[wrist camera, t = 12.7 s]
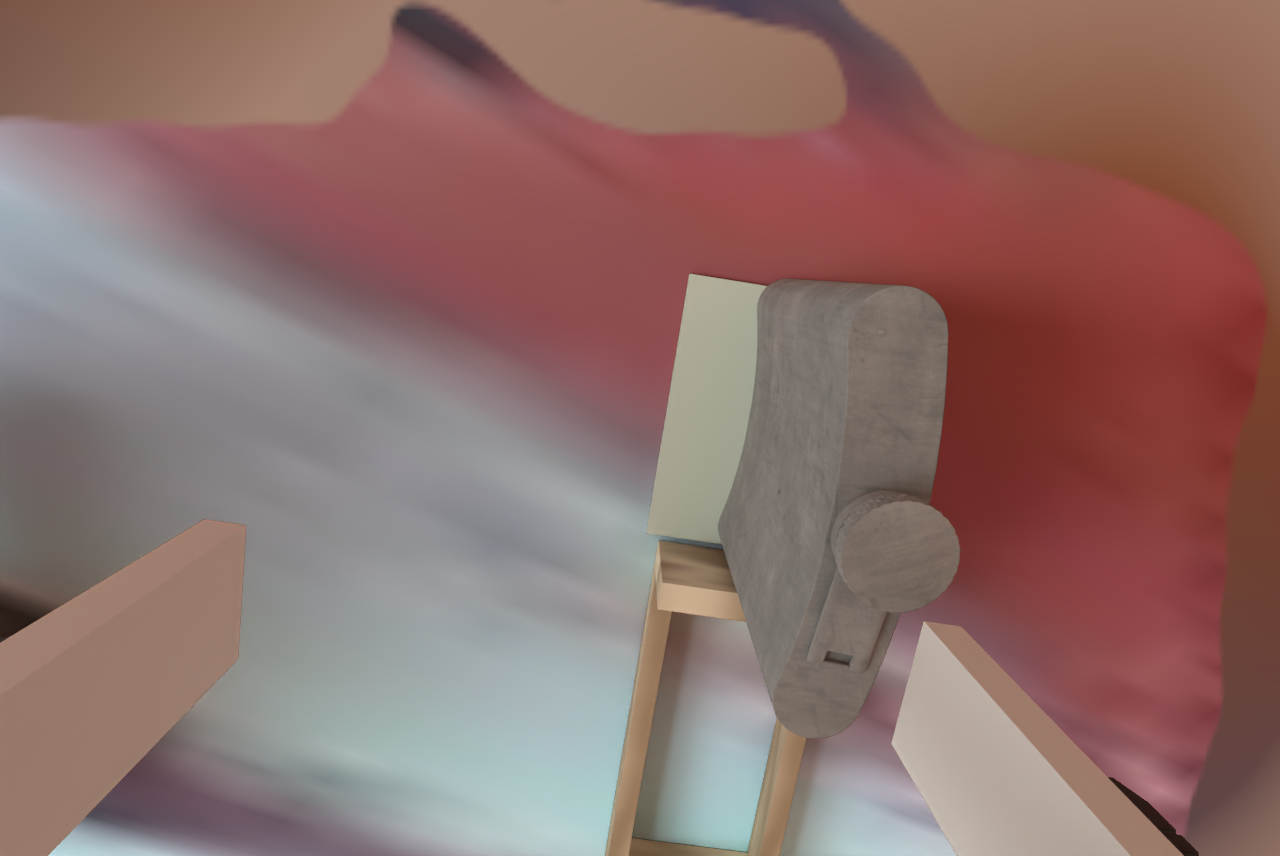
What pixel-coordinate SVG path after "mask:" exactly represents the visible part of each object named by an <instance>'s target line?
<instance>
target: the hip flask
mask: <svg viewBox="0 0 1280 856" xmlns="http://www.w3.org/2000/svg"><path fill="white" fill-rule="evenodd" d="M947 363H948V323H947V320H946V316H945V313H944V311H943V310H942V308H941V306H940V305H939V303H938V302H937V301H936V300H935V299H934V298H933V297H932V296H931V295H929V294H928V293H927V292H925V291H922V290H920V289H918V288H915V287H910V286H901V285H885V284H869V283H853V282H836V281H820V280H804V279H780V280H777V281H775V282H773V283H771V284H770V285H768V286H767V287H766V288H765V289H764V291H763V292H762V293H761V295H760V297H759V300H758V304H757V360H756V372H755V383H754V390H753V397H752V404H751V410H750V415H749V421H748V426H747V431H746V437H745V441H744V445H743V450H742V454H741V458H740V461H739V465H738V469H737V472H736V475H735V479H734V482H733V485H732V488H731V491H730V493H729V496H728V499H727V502H726V504H725V507H724V509H723V511H722V514H721V516H720V519H719V522H718V534H719V537H720V540H721V543H722V546H723V550H724V553H725V556H726V559H727V562H728V565H729V569H730V572H731V575H732V578H733V581H734V584H735V588H736V591H737V594H738V597H739V600H740V603H741V607H742V610H743V613H744V616H745V619H746V622H747V626H748V629H749V632H750V635H751V638H752V641H753V645H754V648H755V651H756V654H757V657H758V660H759V664H760V667H761V670H762V673H763V676H764V679H765V683H766V686H767V689H768V692H769V695H770V698H771V702H772V705H773V708H774V711H775V714H776V716H777V718H778V720H779V721H780V723H781V724H782V725H783V726H784V727H785V728H786V729H788V730H789V731H790V732H792V733H794V734H796V735H798V736H801V737H805V738H814V739H818V738H826V737H830V736H833V735H835V734H837V733H840V732H842V731H843V730H844V729H846V728H847V727H848V726H850V724H851V723H852V722H853V721H854V720H855V719H856V717H857V716H858V714H859V712H860V710H861V708H862V706H863V704H864V702H865V700H866V698H867V695H868V693H869V691H870V689H871V687H872V685H873V683H874V680H875V678H876V676H877V673H878V671H879V669H880V666H881V664H882V662H883V659H884V657H885V654H886V652H887V649H888V646H889V644H890V641H891V638H892V636H893V633H894V630H895V628H896V625H897V622H898V619H899V616H900V613H901V612H907V611H910V610H917V609H918V608H920V607H922V606H926V605H928V604H929V603H930V602H931V601H933V600H935V599H937V598H938V597H939V595H940V594H941V593H943V592H945V591H946V589H947V587H948V585H949V584H950V583H951V582H952V581H953V577H954V575H955V574H956V572H957V568H958V564H959V562H960V557H959V553H960V546H959V538H958V537H957V535H956V533H955V528H954V527H953V526H952V525H951V524H950V522H949V520H948V519H947V518H945V517H944V516H943V515H942V513H941V512H940V511H937V510H936V509H935V507H933V506H931V505H929V504H930V499H931V494H932V489H933V484H934V479H935V474H936V467H937V461H938V454H939V447H940V441H941V433H942V424H943V416H944V407H945V395H946V380H947Z"/></svg>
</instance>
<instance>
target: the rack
mask: <svg viewBox="0 0 1280 856" xmlns="http://www.w3.org/2000/svg"><path fill="white" fill-rule="evenodd" d="M672 611H673V612H680V613H687V614H694V615H701V616H708V617H715V618H723V619H730V620H737V621H744V622H746V619H745V616H744V613H743V610H742V607H741V603H740V600H739V597H738V594H737V591H736V588H735V584H734V581H733V578H732V575H731V572H730V569H729V565H728V562H727V559H726V556H725V553H724V550H723V549H716V548H709V547H702V546H695V545H688V544H681V543H674V542H668V541H661V540H659V541H658V547H657V553H656V558H655V564H654V570H653V576H652V582H651V588H650V594H649V599H648V605H647V611H646V617H645V623H644V629H643V635H642V640H641V646H640V652H639V658H638V664H637V670H636V676H635V681H634V687H633V693H632V699H631V705H630V711H629V717H628V723H627V728H626V734H625V740H624V746H623V752H622V758H621V764H620V769H619V775H618V781H617V787H616V793H615V799H614V805H613V810H612V816H611V822H610V828H609V834H608V840H607V846H606V851H605V856H779V855H780V851H781V847H782V842H783V838H784V833H785V829H786V825H787V820H788V816H789V812H790V807H791V803H792V799H793V794H794V790H795V785H796V781H797V777H798V772H799V768H800V764H801V759H802V755H803V751H804V746H805V742H806V738H805V737H801V736H798V735H796V734H794V733H792V732H790V731H789V730H788V729H786V728H785V727H784V726H783V725H782V724H781V723H780V721H779V720H778V718H777V719H776V724H775V729H774V733H773V738H772V742H771V747H770V751H769V756H768V761H767V765H766V770H765V774H764V779H763V783H762V788H761V793H760V797H759V802H758V806H757V811H756V816H755V820H754V825H753V829H752V834H751V838H750V843H749V848H748V852H747V853H746V852H738V851H730V850H722V849H715V848H707V847H699V846H691V845H683V844H676V843H668V842H660V841H652V840H645V839H637V838H632V832H633V827H634V821H635V815H636V810H637V804H638V799H639V793H640V787H641V782H642V776H643V771H644V765H645V759H646V754H647V748H648V743H649V737H650V731H651V726H652V720H653V715H654V709H655V703H656V698H657V692H658V687H659V681H660V675H661V670H662V664H663V659H664V653H665V647H666V642H667V636H668V631H669V625H670V619H671V614H672Z"/></svg>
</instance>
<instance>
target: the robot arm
mask: <svg viewBox="0 0 1280 856" xmlns="http://www.w3.org/2000/svg"><path fill="white" fill-rule="evenodd" d="M245 539H246V525H241V524H234V523H227V522H220V521H213V520H206V519H204V520H202V521H200V522H199V523H197V524H195V525H194V526H192V527H190V528H189V529H187V530H185V531H184V532H182V533H180V534H179V535H177V536H175V537H174V538H172V539H171V540H169V541H167V542H166V543H164V544H162V545H161V546H159V547H157V548H156V549H154V550H152V551H151V552H149V553H147V554H146V555H144V556H142V557H141V558H139V559H138V560H136V561H134V562H133V563H131V564H129V565H128V566H126V567H124V568H123V569H121V570H119V571H118V572H116V573H114V574H113V575H111V576H109V577H108V578H106V579H105V580H103V581H101V582H100V583H98V584H96V585H95V586H93V587H91V588H90V589H88V590H86V591H85V592H83V593H81V594H80V595H78V596H76V597H75V598H73V599H72V600H70V601H68V602H67V603H65V604H63V605H62V606H60V607H58V608H57V609H55V610H53V611H52V612H50V613H48V614H47V615H45V616H43V617H42V618H40V619H39V620H37V621H35V622H34V623H32V624H30V625H29V626H27V627H25V628H24V629H22V630H20V631H19V632H17V633H15V634H14V635H12V636H10V637H9V638H6V637H0V856H48V855H49V854H50V853H51V852H52V851H53V850H54V849H55V848H56V847H57V846H58V845H59V844H60V843H61V842H62V840H63V839H64V838H65V837H66V836H67V835H68V834H69V833H70V832H71V831H72V830H73V829H74V828H75V827H76V826H77V825H78V824H79V823H80V822H81V821H82V820H83V819H84V818H85V817H86V816H87V815H88V814H89V813H90V812H91V811H92V810H93V808H94V807H95V806H96V805H97V804H98V803H99V802H100V801H101V800H102V799H103V798H104V797H105V796H106V795H107V794H108V793H109V792H110V791H111V790H112V789H113V788H114V787H115V786H116V785H117V784H118V783H119V782H120V781H121V780H122V779H123V777H124V776H125V775H126V774H127V773H128V772H129V771H130V770H131V769H132V768H133V767H134V766H135V765H136V764H137V763H138V762H139V761H140V760H141V759H142V758H143V757H144V756H145V755H146V754H147V753H148V752H149V751H150V750H151V749H152V748H153V747H154V745H155V744H156V743H157V742H158V741H159V740H160V739H161V738H162V737H163V736H164V735H165V734H166V733H167V732H168V731H169V730H170V729H171V728H172V727H173V726H174V725H175V724H176V723H177V722H178V721H179V720H180V719H181V718H182V717H183V716H184V715H185V713H186V712H187V711H188V710H189V709H190V708H191V707H192V706H193V705H194V704H195V703H196V702H197V701H198V700H199V699H200V698H201V697H202V696H203V695H204V694H205V693H206V692H207V691H208V690H209V689H210V688H211V687H212V686H213V685H214V684H215V683H216V681H217V680H218V679H219V678H220V677H221V676H222V675H223V674H224V673H225V672H226V671H227V670H228V669H229V668H230V667H231V666H232V665H233V664H234V663H235V662H236V661H237V660H238V656H239V639H240V622H241V605H242V589H243V572H244V555H245ZM891 744H892V746H893V747H894V749H895V751H896V752H897V754H898V756H899V758H900V759H901V761H902V763H903V764H904V766H905V768H906V770H907V771H908V773H909V775H910V776H911V778H912V780H913V782H914V783H915V785H916V787H917V788H918V790H919V792H920V793H921V795H922V797H923V799H924V800H925V802H926V804H927V805H928V807H929V809H930V811H931V812H932V814H933V816H934V817H935V819H936V821H937V823H938V824H939V826H940V828H941V829H942V831H943V833H944V834H945V836H946V838H947V840H948V841H949V843H950V845H951V846H952V848H953V850H954V852H955V853H956V855H957V856H1199V855H1198V852H1197V851H1196V850H1195V849H1194V848H1193V847H1192V846H1191V845H1190V844H1189V843H1188V842H1187V841H1186V840H1185V839H1184V838H1183V837H1182V836H1181V835H1177V834H1176V830H1175V829H1174V828H1173V827H1172V826H1171V825H1170V824H1169V823H1168V822H1167V821H1166V820H1165V819H1164V818H1163V817H1162V816H1161V815H1160V814H1159V813H1158V812H1157V811H1156V810H1155V809H1154V808H1153V807H1152V806H1151V805H1150V804H1149V803H1148V802H1147V801H1145V800H1144V799H1142V798H1141V797H1140V796H1138V795H1137V794H1135V793H1134V792H1132V791H1131V790H1130V789H1128V788H1127V787H1125V786H1124V785H1122V784H1121V783H1120V782H1118V781H1117V780H1115V779H1114V778H1110V777H1107V776H1106V775H1105V774H1104V773H1103V772H1102V771H1101V770H1100V769H1099V768H1098V767H1097V766H1096V765H1095V764H1094V763H1093V762H1092V761H1091V760H1090V759H1089V758H1088V757H1087V756H1086V755H1085V754H1084V753H1083V752H1082V750H1081V749H1080V748H1079V747H1078V746H1077V745H1076V744H1075V743H1074V742H1073V741H1072V740H1071V739H1070V738H1069V737H1068V736H1067V735H1066V734H1065V733H1064V732H1063V731H1062V730H1061V729H1060V728H1059V727H1058V726H1057V725H1056V724H1055V723H1054V722H1053V721H1052V720H1051V719H1050V718H1049V717H1048V716H1047V715H1046V713H1045V712H1044V711H1043V710H1042V709H1041V708H1040V707H1039V706H1038V705H1037V704H1036V703H1035V702H1034V701H1033V700H1032V699H1031V698H1030V697H1029V696H1028V695H1027V694H1026V693H1025V692H1024V691H1023V690H1022V689H1021V688H1020V687H1019V686H1018V685H1017V684H1016V683H1015V682H1014V681H1013V680H1012V679H1011V677H1010V676H1009V675H1008V674H1007V673H1006V672H1005V671H1004V670H1003V669H1002V668H1001V667H1000V666H999V665H998V664H997V663H996V662H995V661H994V660H993V659H992V658H991V657H990V656H989V655H988V654H987V653H986V652H985V651H984V650H983V649H982V648H981V647H980V646H979V645H978V644H977V643H976V642H975V640H974V639H973V638H972V637H971V636H970V635H969V634H968V633H967V632H966V631H965V630H964V629H963V628H962V627H961V626H954V625H947V624H940V623H933V622H926V621H924V623H923V626H922V630H921V634H920V638H919V641H918V645H917V649H916V653H915V657H914V660H913V664H912V668H911V672H910V675H909V679H908V683H907V687H906V690H905V694H904V698H903V702H902V705H901V709H900V713H899V717H898V721H897V724H896V728H895V732H894V736H893V739H892V743H891Z"/></svg>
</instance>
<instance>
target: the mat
mask: <svg viewBox="0 0 1280 856" xmlns="http://www.w3.org/2000/svg"><path fill="white" fill-rule="evenodd" d="M766 287H767V286H764V285H758V284H752V283H745V282H739V281H733V280H727V279H720V278H714V277H708V276H702V275H695V274H689V278H688V284H687V290H686V296H685V302H684V308H683V314H682V320H681V326H680V332H679V338H678V344H677V350H676V356H675V363H674V369H673V375H672V381H671V387H670V393H669V399H668V405H667V411H666V417H665V423H664V429H663V435H662V441H661V447H660V453H659V459H658V465H657V471H656V477H655V483H654V489H653V495H652V501H651V507H650V513H649V519H648V525H647V533H648V534H655V535H662V536H669V537H675V538H682V539H689V540H696V541H703V542H710V543H717V544H722V543H721V540H720V537H719V534H718V522H719V519H720V516H721V514H722V511H723V509H724V507H725V504H726V502H727V499H728V496H729V493H730V491H731V488H732V485H733V482H734V479H735V475H736V472H737V469H738V465H739V461H740V458H741V454H742V450H743V445H744V441H745V437H746V431H747V426H748V421H749V415H750V410H751V404H752V397H753V390H754V383H755V372H756V360H757V304H758V300H759V297H760V295H761V293H762V292H763V291H764V289H765V288H766Z"/></svg>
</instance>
